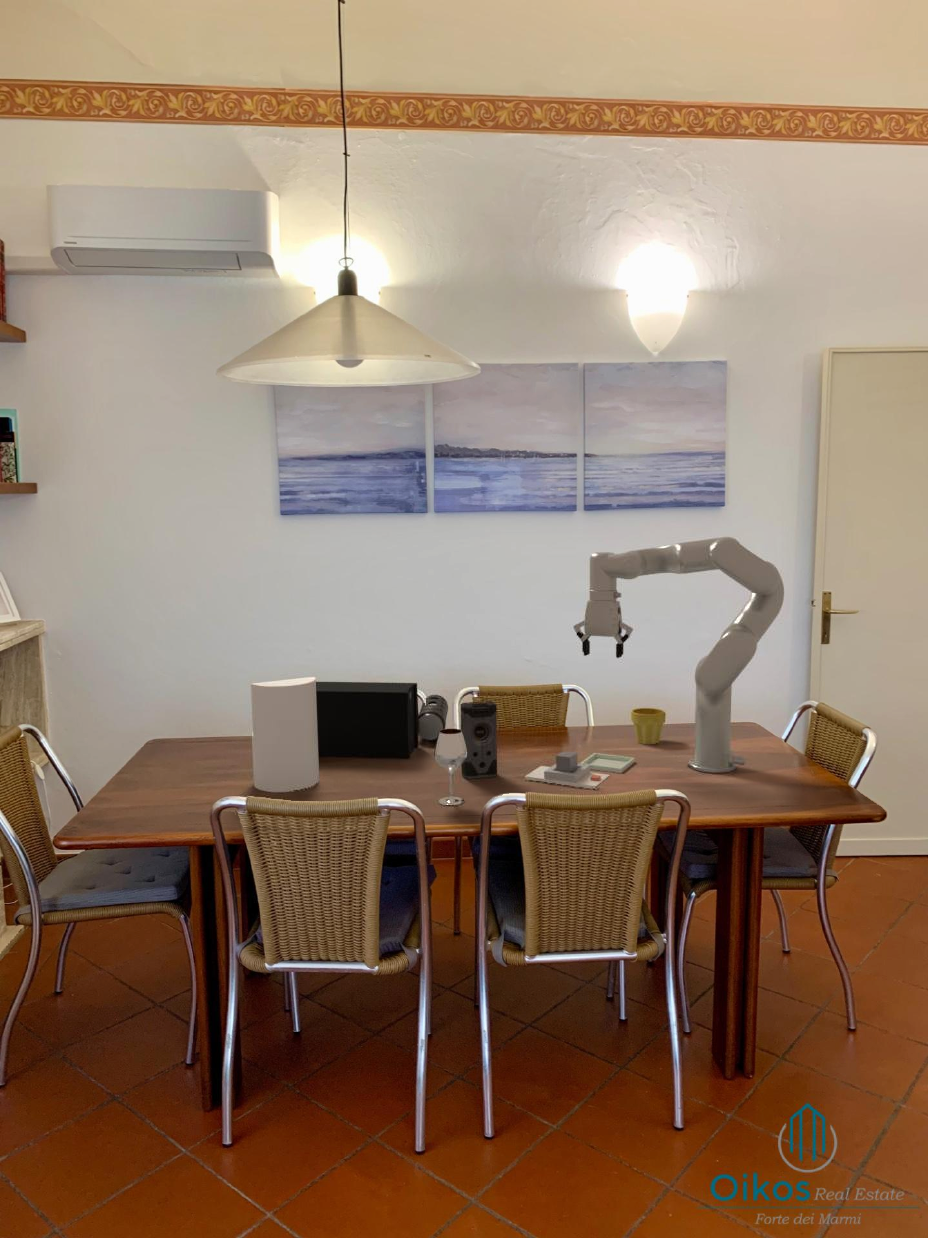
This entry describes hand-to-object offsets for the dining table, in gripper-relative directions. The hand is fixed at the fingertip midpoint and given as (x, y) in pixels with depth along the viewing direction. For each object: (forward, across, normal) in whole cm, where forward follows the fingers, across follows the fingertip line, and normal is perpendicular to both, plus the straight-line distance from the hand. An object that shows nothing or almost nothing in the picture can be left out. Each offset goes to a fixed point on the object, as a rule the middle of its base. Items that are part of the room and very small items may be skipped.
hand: (602, 656), depth 259 cm
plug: (+29, +2, +22) cm, 37 cm away
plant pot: (+31, -6, -25) cm, 40 cm away
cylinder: (+31, +69, +57) cm, 95 cm away
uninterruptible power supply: (+31, +69, +23) cm, 79 cm away
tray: (+30, -4, +7) cm, 31 cm away
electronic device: (+31, +25, +29) cm, 49 cm away
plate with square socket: (+30, +2, +22) cm, 37 cm away
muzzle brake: (+31, +60, -6) cm, 68 cm away
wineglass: (+31, +21, +52) cm, 64 cm away
